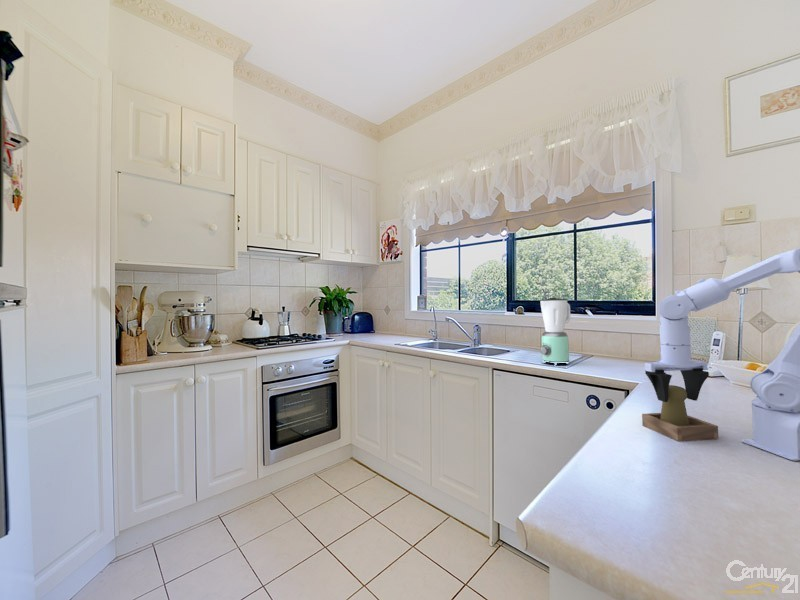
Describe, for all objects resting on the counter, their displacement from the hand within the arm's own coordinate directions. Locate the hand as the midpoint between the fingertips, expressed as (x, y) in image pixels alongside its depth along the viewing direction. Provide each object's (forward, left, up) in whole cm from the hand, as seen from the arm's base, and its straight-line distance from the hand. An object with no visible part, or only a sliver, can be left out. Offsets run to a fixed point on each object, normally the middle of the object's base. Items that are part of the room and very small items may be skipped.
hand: (677, 400), depth 80 cm
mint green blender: (+93, -21, -8) cm, 96 cm away
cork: (+1, 0, -8) cm, 8 cm away
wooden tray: (0, 0, -8) cm, 8 cm away
